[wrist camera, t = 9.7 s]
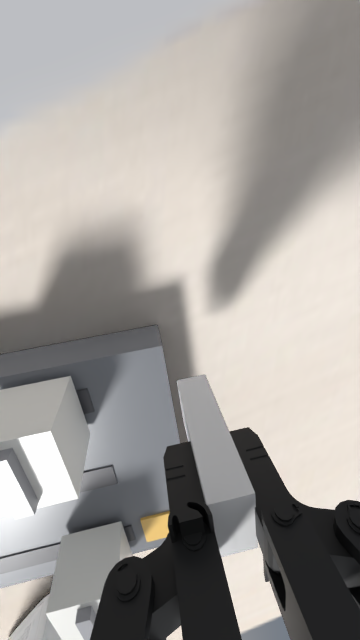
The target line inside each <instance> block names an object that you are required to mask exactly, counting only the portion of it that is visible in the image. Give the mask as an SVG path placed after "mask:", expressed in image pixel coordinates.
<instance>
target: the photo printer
mask: <svg viewBox="0 0 360 640" xmlns="http://www.w3.org/2000/svg"><path fill="white" fill-rule="evenodd" d="M49 595H50V594H48V595H47V596H46V597H45V598H43V599H42V600H41V601H40V603H39V604H38V605H37V606H36V607H35V608H34V609H33V610H32V611H31V612H30V613H29V615H28V616H27V617H26V618H25V619H24V620H23V621H22V623H21V624H20V625H19V626H18V627H17V628H16V629H15V631H14V632H13V633H12V634H11V636H10V637H9V639H8V640H62V639H61V638H60V636H59V635H58V633H57V631H56V630H55V628H54V627H53V625H52V623H51V622H50V620H49V619H48V617H47V615H46V609H47V604H48V600H49Z"/></svg>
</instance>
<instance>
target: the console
mask: <svg viewBox="0 0 360 640" xmlns="http://www.w3.org/2000/svg"><path fill="white" fill-rule="evenodd" d="M67 376H71V378H72V381H73V384H74V387H75V390H76V393H77V396H78V399H79V402H80V405H81V407H82V410H83V413H84V416H85V419H86V422H87V425H88V428H89V431H90V439H89V444H88V449H87V455H86V460H85V466H84V471H83V476H82V482H81V487H80V493H79V498H78V499H75V500H71V501H67V502H62V503H58V504H54V505H50V506H46V507H41V508H37V510H36V513H35V515H33V516H28V517H24V518H20V519H16V520H15V518H14V517H13V515H8V516H4V517H0V588H4V587H7V586H11V585H15V584H19V583H23V582H27V581H31V580H34V579H38V578H42V577H46V576H50V575H54V572H55V567H56V562H57V558H58V553H59V548H60V544H61V539H62V536H64V535H68V534H72V533H76V532H80V531H84V530H88V529H92V528H96V527H100V526H104V525H108V524H112V523H116V522H120V521H121V522H122V525H123V528H124V531H125V534H126V537H127V540H128V543H129V546H130V549H131V552H132V554H134V553H138V552H142V551H146V550H150V549H154V548H157V547H159V546H160V545H161V544H162V543H163V542H164V540H165V539H166V537H167V535H168V533H169V529H168V516H169V514H170V511H169V502H168V494H167V485H166V476H165V468H164V459H163V457H164V454H165V451H166V448H167V446H171V445H175V444H180V440H179V434H178V429H177V423H176V418H175V413H174V407H173V402H172V396H171V391H170V385H169V380H168V374H167V369H166V364H165V358H164V353H163V347H162V342H161V338H160V333H159V328H158V325H153V326H148V327H143V328H137V329H132V330H127V331H122V332H116V333H111V334H106V335H100V336H95V337H90V338H85V339H79V340H74V341H69V342H63V343H58V344H53V345H48V346H42V347H37V348H32V349H26V350H21V351H16V352H11V353H5V354H0V390H2V389H7V388H12V387H17V386H22V385H27V384H32V383H37V382H42V381H47V380H52V379H57V378H62V377H67Z"/></svg>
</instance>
